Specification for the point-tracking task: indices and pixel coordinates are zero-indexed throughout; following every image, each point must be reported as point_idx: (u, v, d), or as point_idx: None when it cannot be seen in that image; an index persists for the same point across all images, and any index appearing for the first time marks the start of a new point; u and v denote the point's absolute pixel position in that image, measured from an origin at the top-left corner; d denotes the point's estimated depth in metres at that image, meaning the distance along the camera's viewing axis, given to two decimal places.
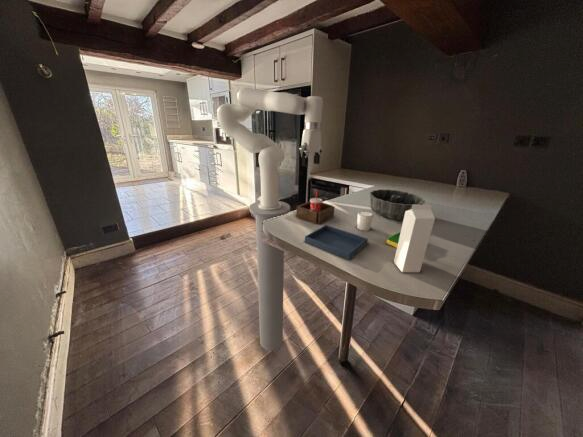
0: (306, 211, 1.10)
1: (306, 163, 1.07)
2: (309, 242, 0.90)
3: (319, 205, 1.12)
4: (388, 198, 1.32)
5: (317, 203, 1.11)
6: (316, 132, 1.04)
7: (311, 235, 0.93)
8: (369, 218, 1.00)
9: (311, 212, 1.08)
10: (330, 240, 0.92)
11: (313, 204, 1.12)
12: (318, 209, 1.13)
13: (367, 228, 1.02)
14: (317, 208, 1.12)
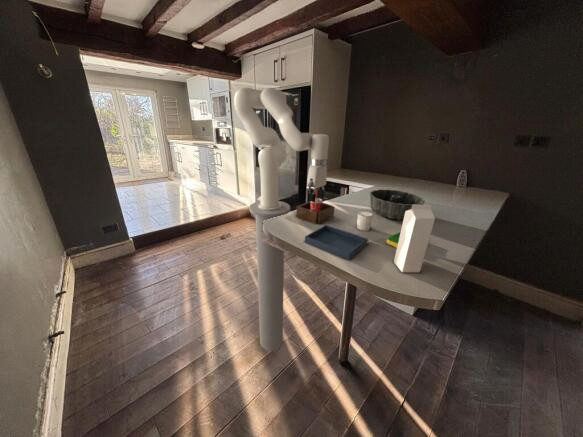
0: (306, 211, 1.10)
1: (314, 199, 1.09)
2: (309, 242, 0.90)
3: (319, 205, 1.12)
4: (388, 198, 1.32)
5: (317, 203, 1.11)
6: (322, 168, 1.05)
7: (311, 235, 0.93)
8: (369, 218, 1.00)
9: (311, 212, 1.08)
10: (330, 240, 0.92)
11: (313, 204, 1.12)
12: (318, 209, 1.13)
13: (367, 228, 1.02)
14: (317, 208, 1.12)
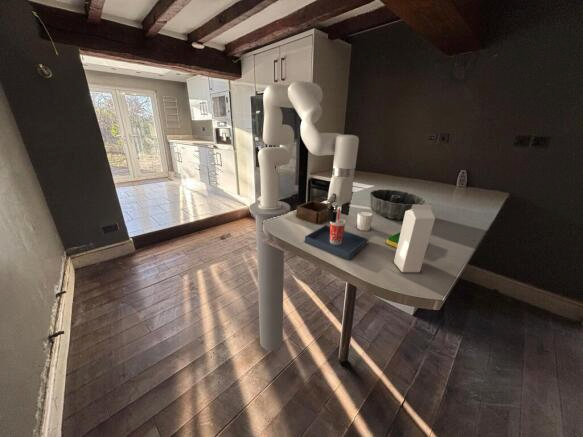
0: (306, 211, 1.10)
1: (334, 219, 0.82)
2: (309, 242, 0.90)
3: (342, 228, 0.87)
4: (388, 198, 1.32)
5: (340, 226, 0.85)
6: (348, 180, 0.80)
7: (311, 235, 0.93)
8: (369, 218, 1.00)
9: (311, 212, 1.08)
10: None
11: (334, 227, 0.86)
12: (341, 233, 0.87)
13: (367, 228, 1.02)
14: (340, 232, 0.87)
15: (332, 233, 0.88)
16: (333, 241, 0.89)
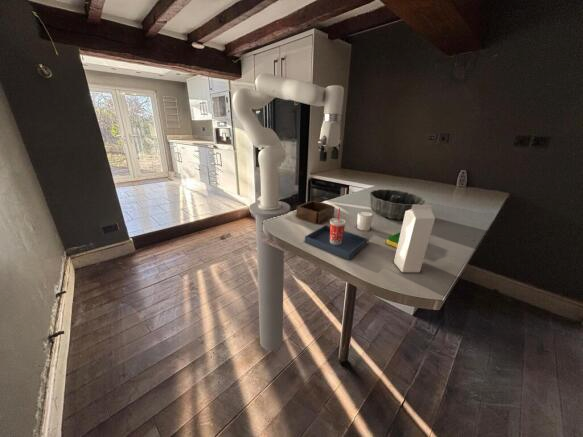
0: (306, 211, 1.10)
1: (325, 158, 1.00)
2: (309, 242, 0.90)
3: (342, 228, 0.86)
4: (388, 198, 1.32)
5: (340, 226, 0.85)
6: (336, 124, 0.97)
7: (311, 235, 0.93)
8: (369, 218, 1.00)
9: (311, 212, 1.08)
10: None
11: (334, 227, 0.86)
12: (341, 233, 0.87)
13: (367, 228, 1.02)
14: (340, 232, 0.87)
15: (332, 233, 0.88)
16: (333, 241, 0.89)
